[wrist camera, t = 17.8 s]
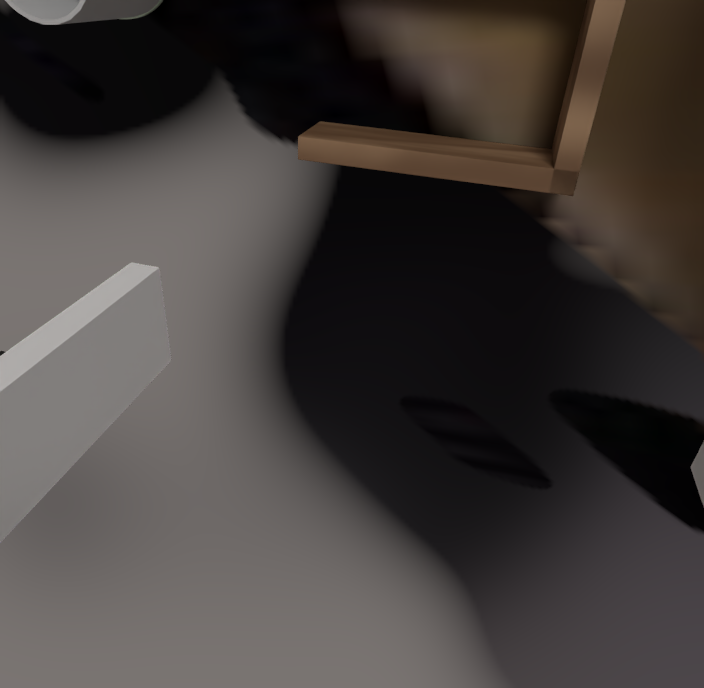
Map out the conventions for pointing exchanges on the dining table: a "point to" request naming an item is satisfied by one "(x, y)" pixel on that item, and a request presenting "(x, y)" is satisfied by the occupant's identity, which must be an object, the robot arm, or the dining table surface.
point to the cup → (79, 10)
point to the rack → (481, 156)
